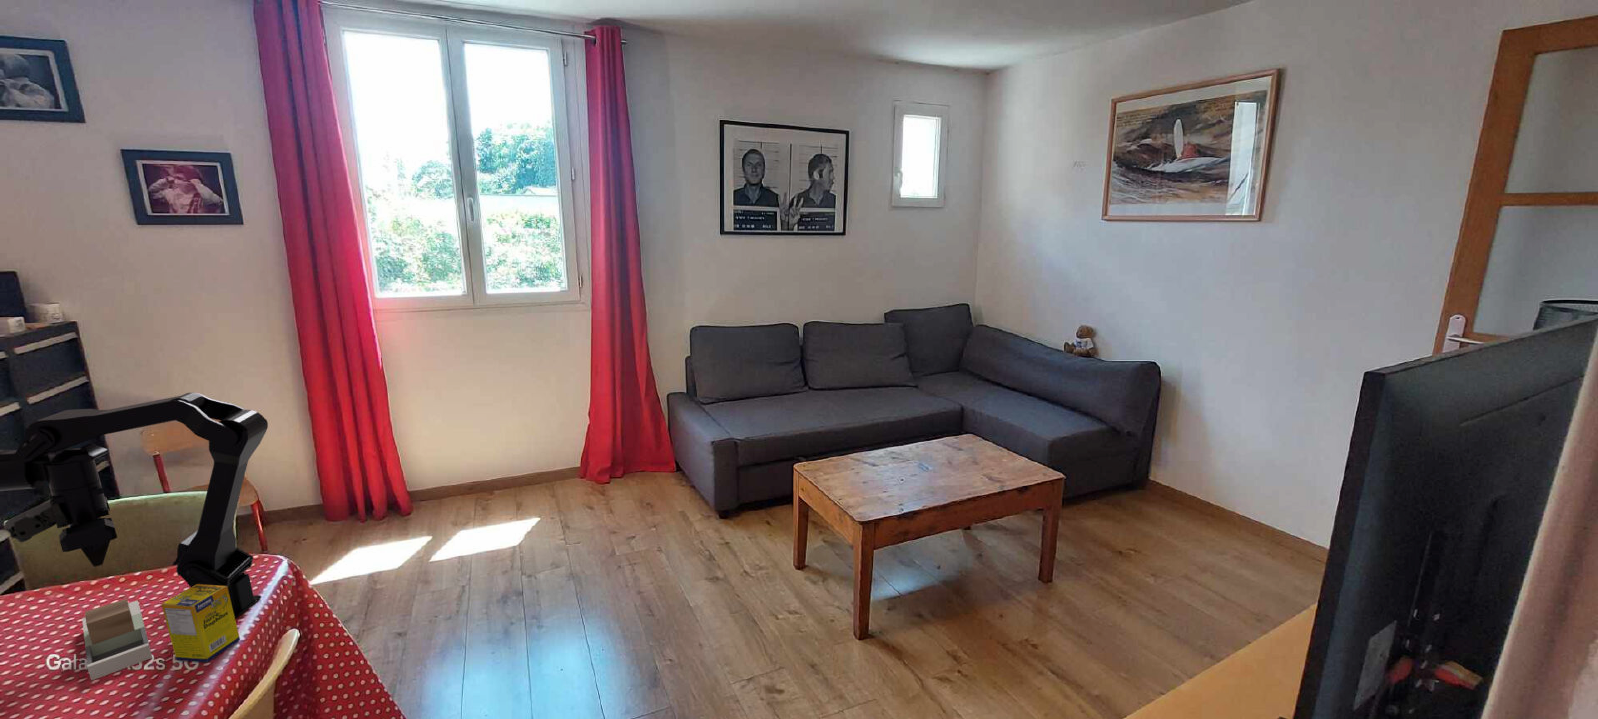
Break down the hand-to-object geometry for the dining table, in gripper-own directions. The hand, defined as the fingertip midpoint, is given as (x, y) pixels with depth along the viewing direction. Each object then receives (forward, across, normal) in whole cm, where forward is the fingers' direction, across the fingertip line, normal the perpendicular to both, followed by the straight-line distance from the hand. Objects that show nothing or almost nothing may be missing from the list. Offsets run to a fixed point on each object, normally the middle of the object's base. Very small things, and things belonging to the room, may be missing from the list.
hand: (98, 565), depth 113 cm
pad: (+12, +7, 0) cm, 14 cm away
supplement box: (+12, +22, +10) cm, 27 cm away
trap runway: (+12, +6, 0) cm, 14 cm away
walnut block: (+10, +8, 0) cm, 12 cm away
